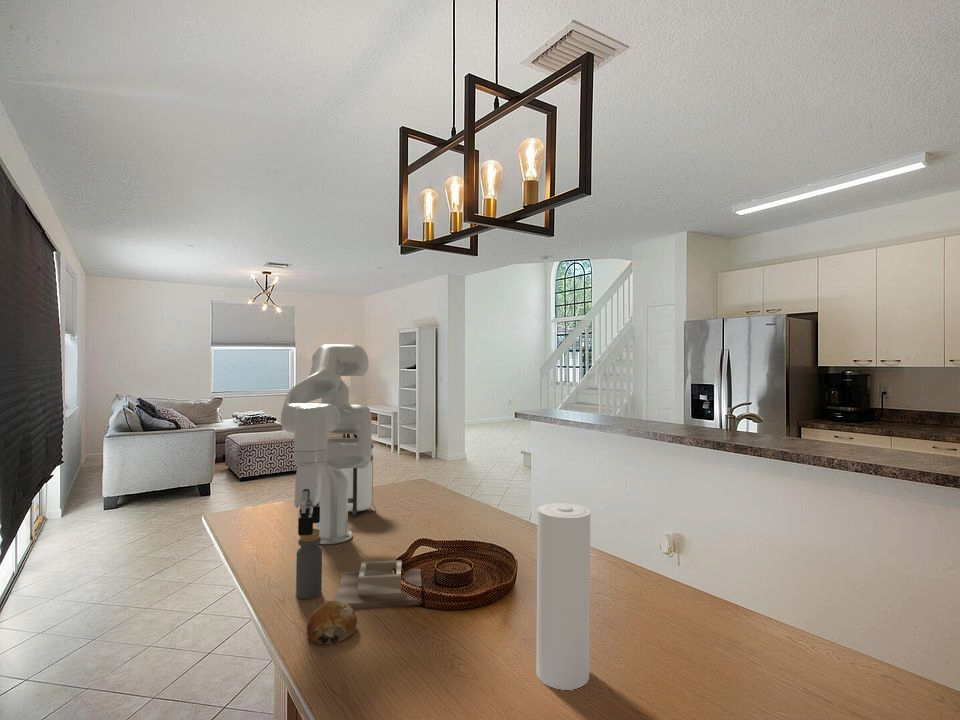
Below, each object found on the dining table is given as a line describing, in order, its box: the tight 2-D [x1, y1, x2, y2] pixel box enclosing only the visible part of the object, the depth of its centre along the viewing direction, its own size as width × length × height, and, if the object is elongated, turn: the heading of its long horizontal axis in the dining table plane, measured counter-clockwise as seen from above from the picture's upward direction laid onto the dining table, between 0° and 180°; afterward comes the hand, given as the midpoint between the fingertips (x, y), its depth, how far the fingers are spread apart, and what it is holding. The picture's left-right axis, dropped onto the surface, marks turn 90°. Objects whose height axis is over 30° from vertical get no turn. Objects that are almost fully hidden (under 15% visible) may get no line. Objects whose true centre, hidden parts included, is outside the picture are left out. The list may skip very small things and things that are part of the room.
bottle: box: [295, 528, 323, 600], centre depth 124 cm, size 6×6×15 cm
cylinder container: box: [535, 502, 591, 691], centre depth 92 cm, size 9×9×30 cm
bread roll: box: [306, 599, 358, 646], centre depth 106 cm, size 10×10×8 cm
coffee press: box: [340, 434, 376, 518], centre depth 191 cm, size 17×16×30 cm
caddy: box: [335, 559, 423, 610], centre depth 126 cm, size 18×20×5 cm
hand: (309, 528), depth 123 cm, fingers open, 9 cm apart
